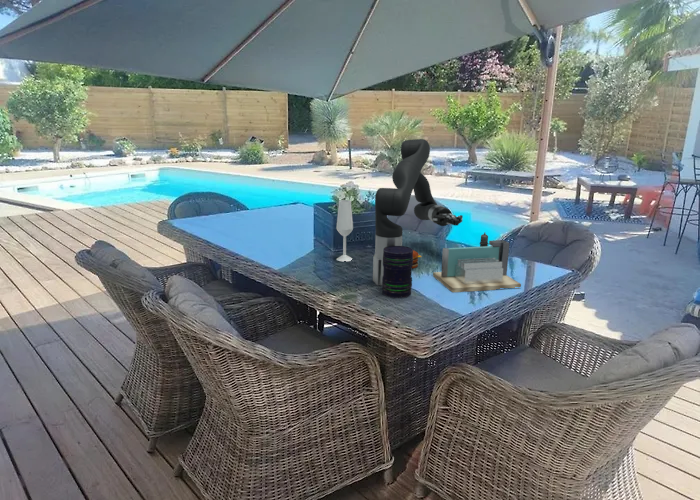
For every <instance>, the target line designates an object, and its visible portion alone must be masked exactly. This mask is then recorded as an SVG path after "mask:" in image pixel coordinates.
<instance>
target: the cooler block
mask: <svg viewBox="0 0 700 500" xmlns="http://www.w3.org/2000/svg"><path fill="white" fill-rule="evenodd" d="M488 243H489V244H488V245H489V246H494V247H495V246H498V247H499V258H498V259H495V258H494V257H492V258H473V259H457V264H456V269H455V278H456V279H458V280H459V281H460V282H462V283H463V284H481V283H497V282H502V278H503V275H507V274H508V263H509V251H510V242H508V241H506V240H504V239H501V240H500V239H498V240H496V239H495V240H488ZM507 276H508V275H507Z"/></svg>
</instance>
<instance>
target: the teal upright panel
mask: <svg viewBox="0 0 700 500" xmlns="http://www.w3.org/2000/svg"><path fill="white" fill-rule="evenodd" d="M441 255H442V259H441V271H440V272H441V276H442V277H448V276H455V269H456V264H457V259H473V258H492V257H494V258H495V259H498V258H499V247H498V246H495V247H494V246H492V245H489V246H485V247H480V246H470V247H469V246H468V247H467V246H466V247H465V246H464V247H443V248H442V254H441Z"/></svg>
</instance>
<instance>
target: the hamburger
mask: <svg viewBox="0 0 700 500" xmlns="http://www.w3.org/2000/svg"><path fill="white" fill-rule="evenodd" d="M419 258H423V256H422V255H420V254H419V253H418V252H417V251H416V250H414V249H413V266H412V269H416V268H418V267H419V264H418V261H419Z"/></svg>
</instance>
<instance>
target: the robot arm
mask: <svg viewBox="0 0 700 500" xmlns="http://www.w3.org/2000/svg"><path fill="white" fill-rule="evenodd" d="M430 153H431V146H430V143H429V142H428V140H427V139H425V138H424V139H423V138H419V139H418V138H417V139H407V140H403V141H402V143H401V145H400V155H401V156H400V157H401V158H402V159H401V160H400V161H399V162H398V163H397V165H396V167H395V168H394V170H393V173H392V177H391V178H392V183H393V184H394V186H395V188H392V187H379V188H378V189H377V191H376V192H375V196H374V210H375V211H374V214H375V220H374V221H375V222H374V224H375V226H374V227H375V242H374V243H375V244H374V245H375V247H374V250H375V251H374V254H373V258H372V259H373V260H372V281H373V282H374V284H375V285H376V286H379V287H380V286H381V287H382V277H383V270H384V266H383V253H384V252H383V249H384V248H385V247H388V246H403V232H404V231H403V227H402V226H401V225H399V224H397V223H395V222H393V221H391V220H390V219H389V218H388V216H391V217H401V216H404V215H405V213H407V210H408V207H409V204H410V200H411V196H412V193H414V194H413V195H414V197H415V200H416V201H417V203H418V204H416V205H415V206H414V207H413V213H414V215H415V216H416V218H417V219H418V220H421V221H431V222H432V223H434V224H436V225H438V226H441V227H445V226H447V225H453V226H455V227H456V226H459V225H460V224H461V223H463V219H464V218H463V215H462V214H461V215H455V214H453V212H452V210H451V209H449V208H448V207H445V206H442V205H438V204H437V202H436V200H435V199H434V197H433V195H432V189H431V185H430V182H429V180H428V179H427V177H426V176H425V175H424V174H423V173H422V172H421V171H422V169H423V167H424V166H425V165H426V163H427V162H428V160H429V158H430V155H431V154H430Z"/></svg>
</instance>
